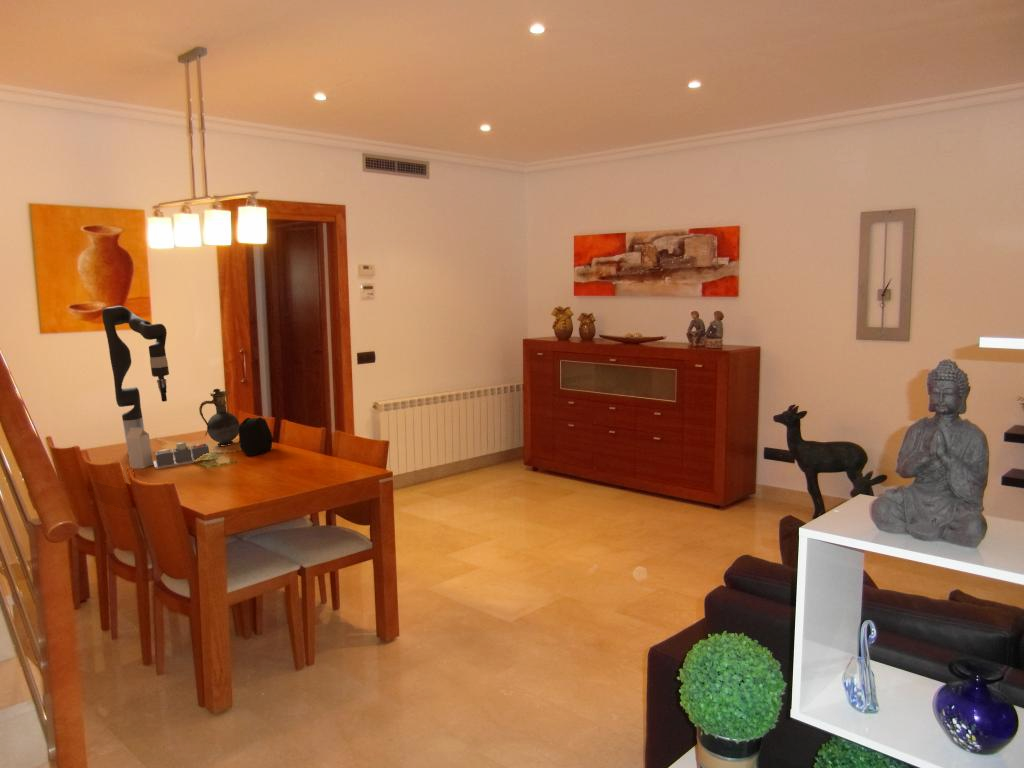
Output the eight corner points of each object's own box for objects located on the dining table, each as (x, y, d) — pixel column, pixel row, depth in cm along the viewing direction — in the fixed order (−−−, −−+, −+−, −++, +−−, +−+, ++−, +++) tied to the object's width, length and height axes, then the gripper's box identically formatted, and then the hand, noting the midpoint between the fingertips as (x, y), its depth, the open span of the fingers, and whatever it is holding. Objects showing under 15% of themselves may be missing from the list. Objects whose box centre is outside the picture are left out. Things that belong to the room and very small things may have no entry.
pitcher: (244, 442, 400) (237, 386, 395) (209, 451, 387) (201, 392, 382) (235, 439, 408) (228, 384, 402) (200, 448, 394) (192, 390, 389)
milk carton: (143, 468, 361) (137, 429, 357) (130, 468, 362) (124, 429, 359) (153, 464, 368) (147, 425, 364) (140, 464, 369) (134, 426, 366)
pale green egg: (177, 453, 370) (175, 443, 370) (186, 451, 372) (185, 441, 372) (178, 455, 367) (176, 445, 366) (187, 453, 369) (186, 443, 368)
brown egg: (195, 454, 374) (193, 444, 374) (204, 452, 377) (203, 442, 376) (196, 456, 371) (194, 446, 370) (206, 454, 373) (204, 444, 372)
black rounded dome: (281, 446, 386) (277, 413, 383) (267, 456, 369) (262, 421, 366) (247, 448, 388) (243, 414, 385) (231, 457, 371) (226, 422, 368)
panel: (153, 463, 370) (151, 451, 369) (209, 453, 382) (208, 441, 381) (155, 469, 358) (153, 457, 357) (214, 459, 370) (212, 447, 369)
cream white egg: (159, 460, 367) (158, 450, 366) (169, 458, 369) (168, 448, 368) (160, 462, 363) (158, 452, 362) (170, 460, 365) (168, 450, 364)
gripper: (149, 365, 371) (154, 400, 374) (151, 368, 360) (157, 404, 363) (166, 363, 375) (171, 398, 378) (169, 366, 363) (174, 402, 366)
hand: (164, 401), depth 370 cm, fingers closed
